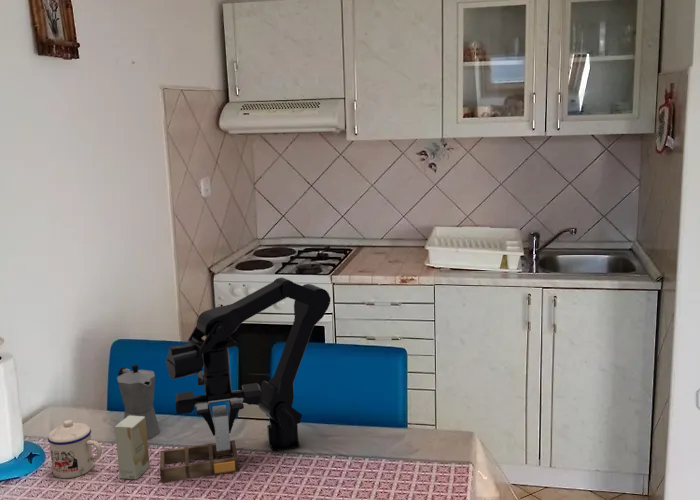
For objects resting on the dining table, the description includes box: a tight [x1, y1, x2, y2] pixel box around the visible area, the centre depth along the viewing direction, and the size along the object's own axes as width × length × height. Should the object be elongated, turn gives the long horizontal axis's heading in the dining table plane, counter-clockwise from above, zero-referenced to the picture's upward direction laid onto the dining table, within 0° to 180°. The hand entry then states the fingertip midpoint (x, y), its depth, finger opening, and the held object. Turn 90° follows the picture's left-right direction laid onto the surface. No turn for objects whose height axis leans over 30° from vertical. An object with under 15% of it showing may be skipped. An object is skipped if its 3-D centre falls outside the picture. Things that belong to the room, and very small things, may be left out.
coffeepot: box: [116, 364, 161, 440], centre depth 173 cm, size 15×9×18 cm, turn 44°
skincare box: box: [114, 415, 151, 480], centre depth 154 cm, size 6×4×12 cm
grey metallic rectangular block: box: [212, 404, 231, 451], centre depth 156 cm, size 3×6×8 cm, turn 14°
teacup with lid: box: [47, 419, 103, 479], centre depth 156 cm, size 12×9×12 cm
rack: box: [159, 439, 240, 484], centre depth 156 cm, size 17×10×3 cm, turn 104°
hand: (221, 433), depth 156 cm, fingers closed on grey metallic rectangular block, 3 cm apart
